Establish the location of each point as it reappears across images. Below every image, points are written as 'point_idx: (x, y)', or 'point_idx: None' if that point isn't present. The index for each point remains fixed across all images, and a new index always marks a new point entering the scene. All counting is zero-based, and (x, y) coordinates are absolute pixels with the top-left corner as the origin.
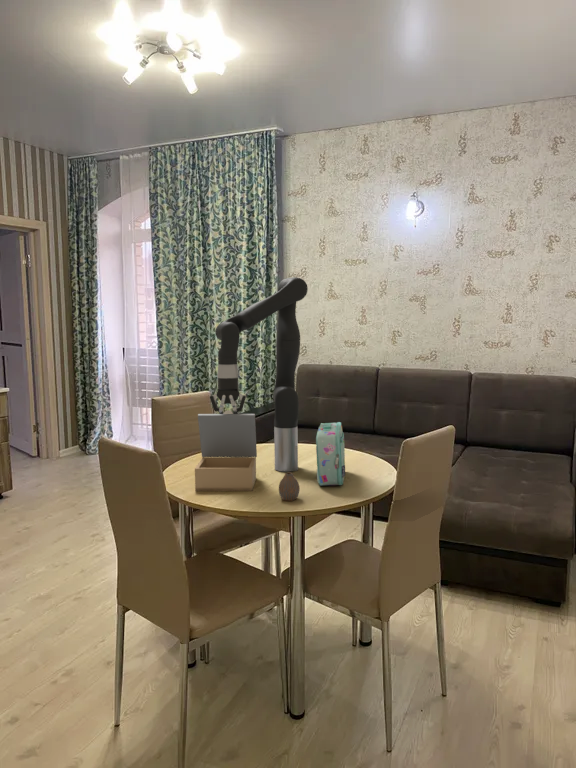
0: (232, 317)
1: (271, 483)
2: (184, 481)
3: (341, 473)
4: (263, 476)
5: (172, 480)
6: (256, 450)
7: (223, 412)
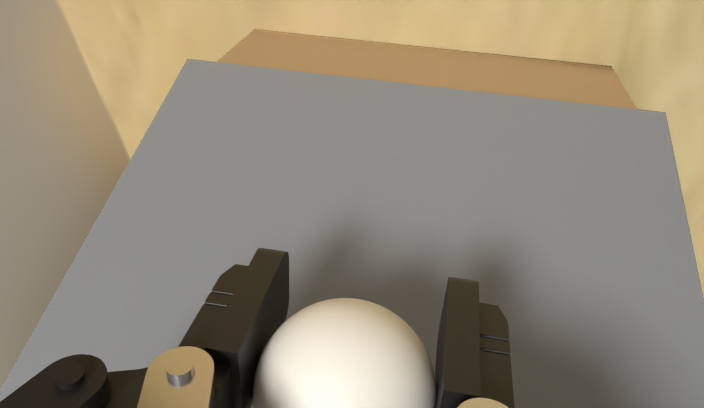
0: None
1: (685, 189)
2: (163, 85)
3: None
4: (677, 26)
5: (89, 57)
6: (671, 161)
7: (240, 359)
